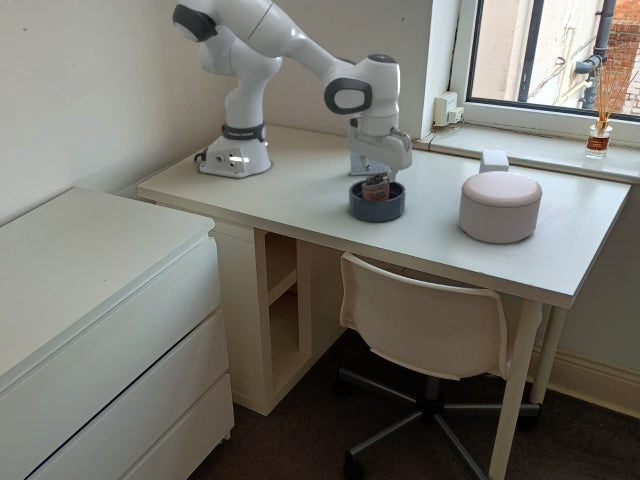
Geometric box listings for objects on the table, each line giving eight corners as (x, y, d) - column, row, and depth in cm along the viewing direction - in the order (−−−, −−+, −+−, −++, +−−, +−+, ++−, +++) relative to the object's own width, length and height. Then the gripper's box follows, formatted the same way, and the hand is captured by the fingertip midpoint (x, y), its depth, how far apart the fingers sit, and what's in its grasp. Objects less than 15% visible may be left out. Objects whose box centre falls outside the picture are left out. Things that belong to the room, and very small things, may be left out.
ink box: (389, 171, 199) (390, 133, 192) (389, 174, 197) (391, 136, 190) (349, 172, 200) (350, 135, 194) (350, 175, 198) (350, 138, 192)
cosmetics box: (504, 202, 176) (509, 164, 170) (478, 201, 177) (483, 164, 171) (501, 185, 184) (506, 149, 178) (476, 185, 186) (480, 149, 180)
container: (462, 209, 175) (467, 166, 168) (536, 216, 168) (544, 172, 162) (452, 241, 161) (457, 197, 155) (533, 250, 155) (541, 204, 148)
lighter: (365, 214, 175) (366, 179, 170) (358, 209, 178) (359, 174, 172) (391, 207, 177) (393, 171, 172) (384, 202, 180) (386, 167, 175)
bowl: (344, 220, 175) (344, 199, 171) (354, 197, 186) (354, 177, 182) (400, 225, 170) (401, 203, 167) (407, 200, 181) (408, 180, 178)
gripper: (420, 130, 159) (416, 184, 166) (362, 111, 173) (361, 161, 181) (400, 137, 156) (397, 191, 164) (343, 117, 171) (343, 168, 178)
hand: (378, 175), depth 172 cm, fingers open, 8 cm apart
